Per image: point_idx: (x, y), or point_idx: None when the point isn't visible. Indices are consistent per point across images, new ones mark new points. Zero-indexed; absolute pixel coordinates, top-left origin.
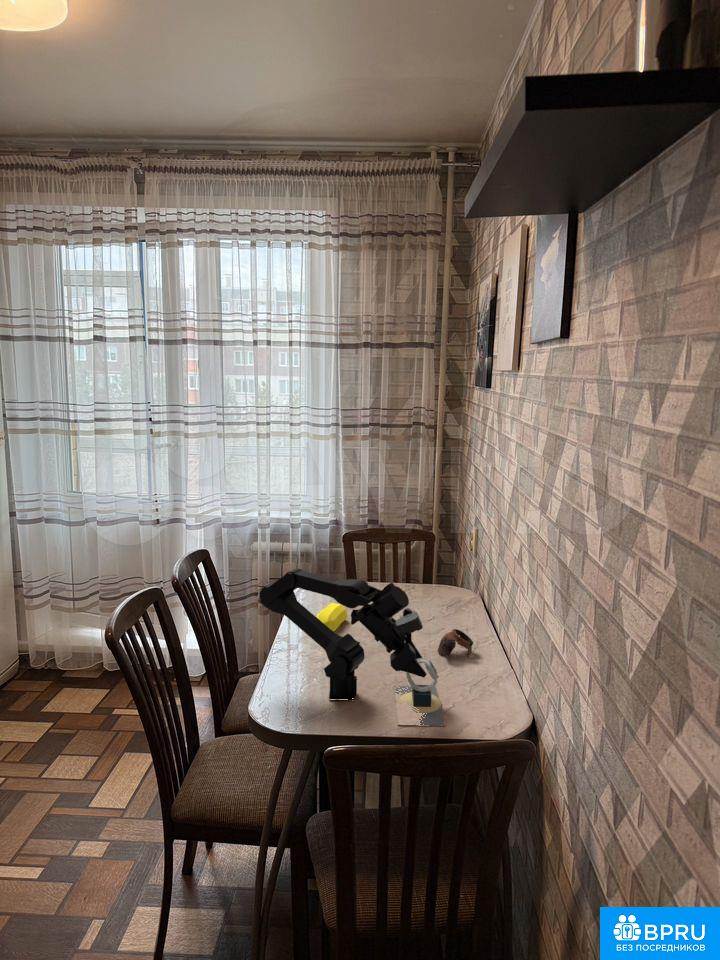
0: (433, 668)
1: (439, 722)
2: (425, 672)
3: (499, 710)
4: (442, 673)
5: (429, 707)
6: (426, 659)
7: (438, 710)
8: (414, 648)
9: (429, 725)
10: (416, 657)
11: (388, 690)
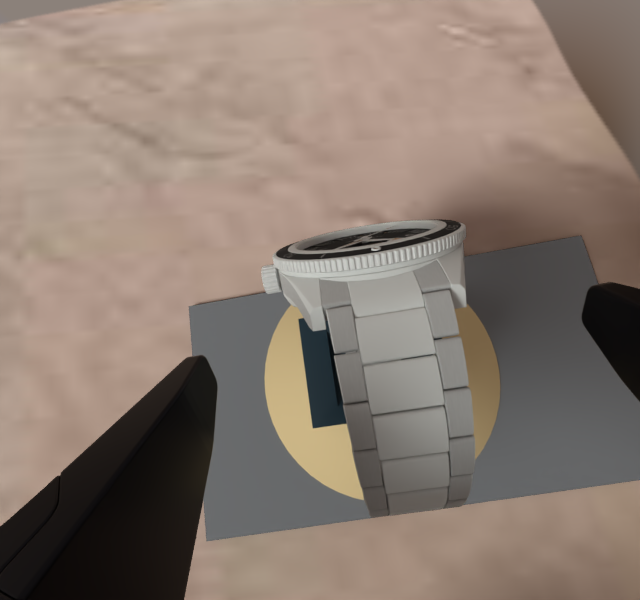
0: (364, 241)
1: (562, 262)
2: (619, 290)
3: (365, 42)
4: (41, 282)
5: None
6: (328, 293)
7: None
8: (124, 488)
9: None
10: (204, 428)
11: (255, 567)
